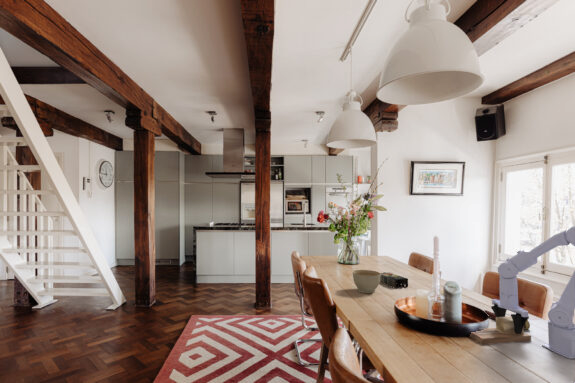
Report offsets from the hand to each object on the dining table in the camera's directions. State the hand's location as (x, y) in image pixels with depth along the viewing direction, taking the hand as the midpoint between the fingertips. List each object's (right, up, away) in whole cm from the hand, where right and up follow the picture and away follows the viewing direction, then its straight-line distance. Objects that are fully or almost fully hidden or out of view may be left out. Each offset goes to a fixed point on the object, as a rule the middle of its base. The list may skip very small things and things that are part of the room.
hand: (509, 329), depth 117 cm
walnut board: (-5, -3, -1) cm, 6 cm away
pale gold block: (0, -1, 0) cm, 1 cm away
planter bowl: (-39, -6, +61) cm, 73 cm away
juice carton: (-18, -7, +78) cm, 80 cm away
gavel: (+7, -4, +16) cm, 18 cm away
